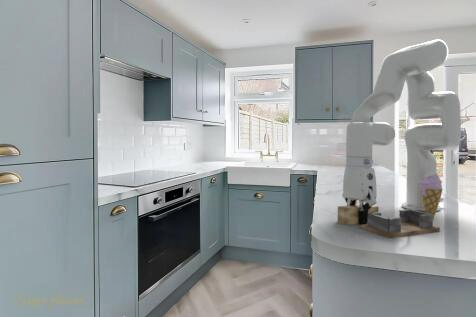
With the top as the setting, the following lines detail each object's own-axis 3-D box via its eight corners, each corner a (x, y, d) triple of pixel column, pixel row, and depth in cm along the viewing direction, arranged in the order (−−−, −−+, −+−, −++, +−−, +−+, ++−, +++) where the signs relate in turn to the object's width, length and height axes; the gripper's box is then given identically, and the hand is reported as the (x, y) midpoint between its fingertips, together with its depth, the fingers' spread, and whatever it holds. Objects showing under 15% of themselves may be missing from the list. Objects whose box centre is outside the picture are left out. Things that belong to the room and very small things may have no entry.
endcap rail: (408, 222, 94) (408, 208, 94) (439, 231, 85) (440, 215, 85) (361, 228, 88) (361, 212, 88) (389, 237, 79) (389, 220, 79)
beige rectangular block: (370, 219, 99) (370, 204, 98) (378, 222, 95) (378, 206, 95) (337, 222, 95) (337, 206, 95) (344, 225, 92) (344, 208, 92)
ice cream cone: (433, 222, 94) (434, 174, 94) (413, 218, 100) (414, 172, 99) (445, 220, 97) (447, 173, 97) (426, 216, 103) (427, 171, 102)
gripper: (390, 164, 88) (388, 227, 89) (350, 161, 104) (349, 215, 104) (369, 164, 85) (367, 229, 86) (331, 161, 101) (331, 216, 102)
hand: (357, 221), depth 95 cm, fingers closed on beige rectangular block, 3 cm apart
